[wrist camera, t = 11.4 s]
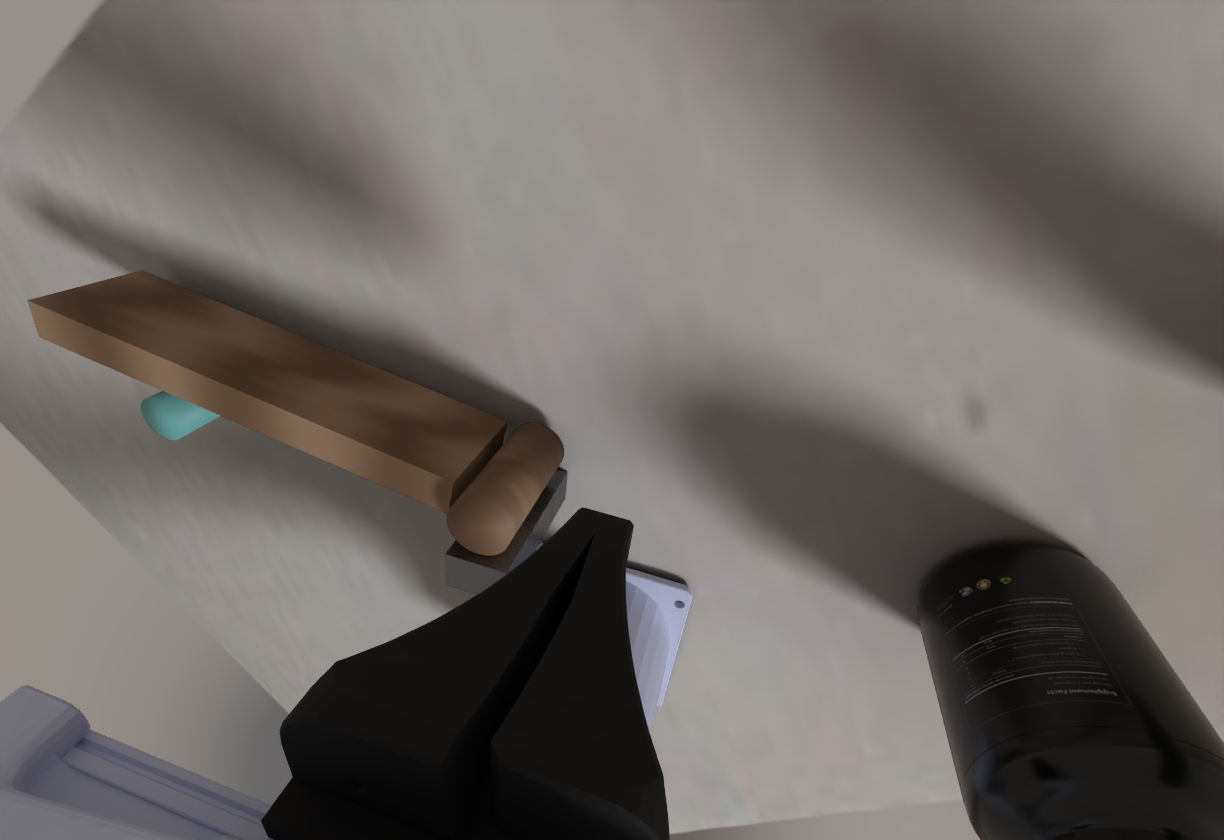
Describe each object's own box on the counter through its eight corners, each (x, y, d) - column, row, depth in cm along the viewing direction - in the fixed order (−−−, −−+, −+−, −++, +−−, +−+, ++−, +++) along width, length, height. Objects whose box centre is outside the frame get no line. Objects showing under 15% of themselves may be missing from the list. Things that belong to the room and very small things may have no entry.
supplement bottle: (1149, 631, 21) (1465, 1100, 11) (964, 676, 25) (1082, 1066, 15) (1064, 506, 20) (1341, 916, 10) (880, 572, 23) (948, 926, 13)
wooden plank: (570, 435, 23) (515, 518, 19) (557, 478, 25) (503, 565, 20) (144, 260, 25) (-1, 297, 20) (153, 309, 26) (19, 353, 22)
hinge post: (564, 498, 26) (505, 603, 21) (517, 485, 27) (446, 584, 21) (567, 471, 25) (506, 573, 20) (518, 458, 26) (445, 554, 20)
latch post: (278, 393, 28) (188, 445, 24) (244, 384, 28) (149, 433, 24) (270, 357, 27) (174, 404, 23) (235, 348, 27) (134, 393, 23)
